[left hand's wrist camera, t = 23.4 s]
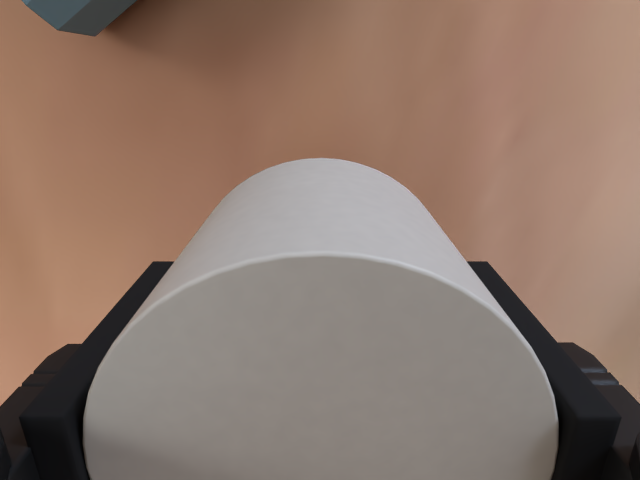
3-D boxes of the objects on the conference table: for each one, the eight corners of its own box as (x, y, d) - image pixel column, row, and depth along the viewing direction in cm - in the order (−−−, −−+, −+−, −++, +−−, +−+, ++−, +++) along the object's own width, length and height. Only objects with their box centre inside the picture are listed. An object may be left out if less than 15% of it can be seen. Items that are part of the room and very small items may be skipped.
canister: (376, 104, 13) (442, 145, 6) (486, 325, 16) (620, 532, 9) (140, 239, 15) (-26, 397, 8) (278, 420, 17) (249, 661, 10)
